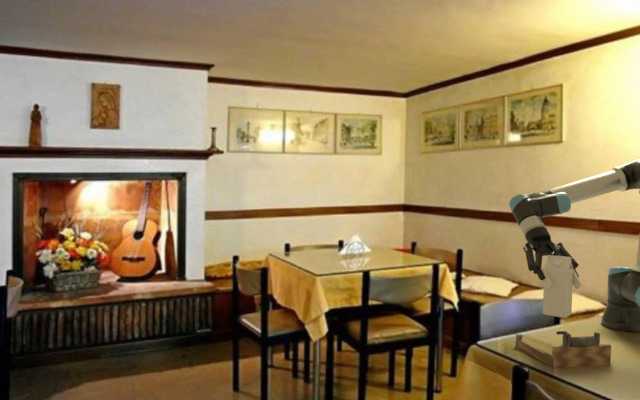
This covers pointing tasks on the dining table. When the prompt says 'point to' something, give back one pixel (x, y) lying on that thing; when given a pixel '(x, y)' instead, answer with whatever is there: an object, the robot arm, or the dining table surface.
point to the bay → (571, 351)
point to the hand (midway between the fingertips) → (564, 287)
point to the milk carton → (558, 286)
